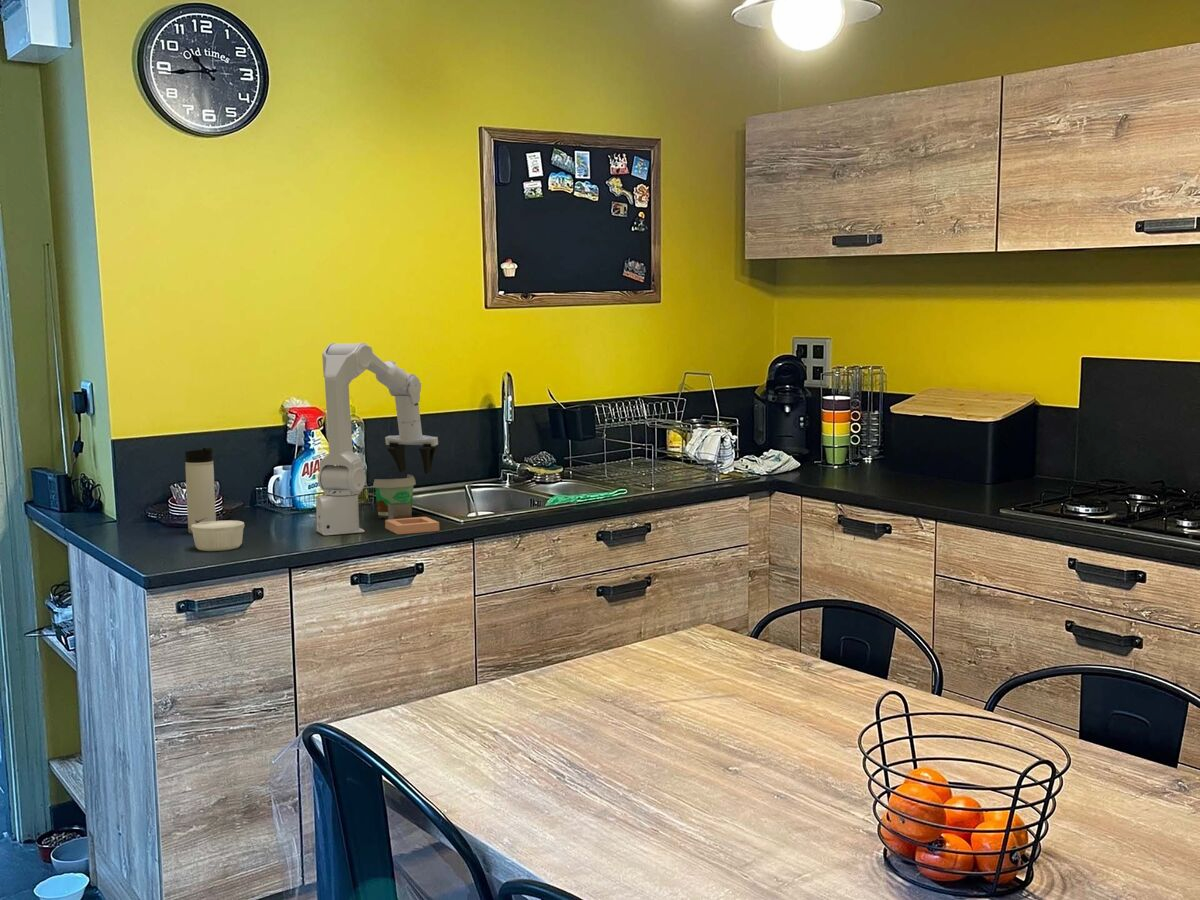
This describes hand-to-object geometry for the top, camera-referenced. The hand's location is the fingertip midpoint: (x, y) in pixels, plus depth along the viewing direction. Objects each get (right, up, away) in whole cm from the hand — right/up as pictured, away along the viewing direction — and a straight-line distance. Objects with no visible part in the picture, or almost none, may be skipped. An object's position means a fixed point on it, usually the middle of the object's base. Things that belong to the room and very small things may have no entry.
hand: (415, 471), depth 305 cm
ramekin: (-36, -16, -46) cm, 60 cm away
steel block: (-1, -12, -17) cm, 21 cm away
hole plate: (+3, -13, -26) cm, 29 cm away
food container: (-3, -11, -6) cm, 13 cm away
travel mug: (-46, -14, -26) cm, 54 cm away
